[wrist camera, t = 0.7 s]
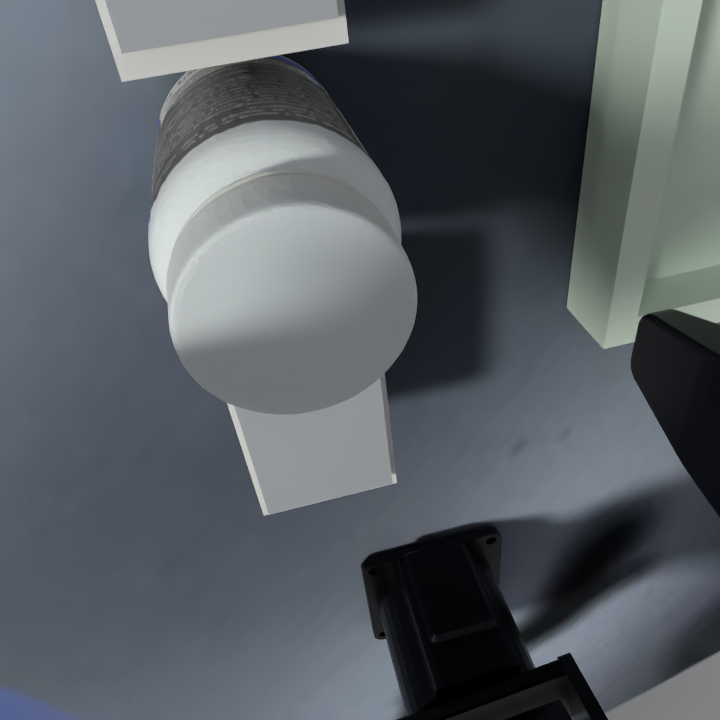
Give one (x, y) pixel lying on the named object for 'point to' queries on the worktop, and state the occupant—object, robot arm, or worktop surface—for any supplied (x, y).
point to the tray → (650, 170)
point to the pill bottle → (275, 241)
